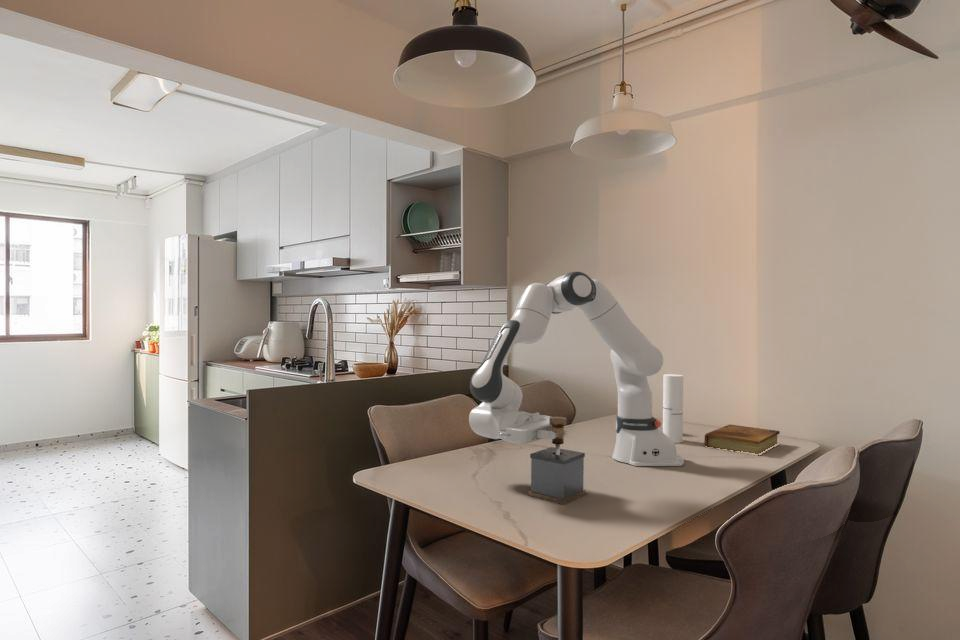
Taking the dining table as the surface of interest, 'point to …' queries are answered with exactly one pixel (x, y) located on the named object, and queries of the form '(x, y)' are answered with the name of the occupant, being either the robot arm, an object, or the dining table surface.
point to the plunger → (558, 431)
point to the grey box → (557, 475)
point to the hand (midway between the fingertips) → (560, 434)
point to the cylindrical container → (673, 407)
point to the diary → (741, 438)
